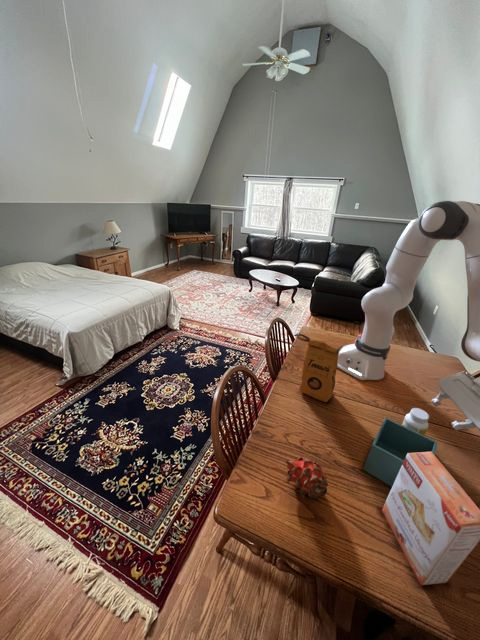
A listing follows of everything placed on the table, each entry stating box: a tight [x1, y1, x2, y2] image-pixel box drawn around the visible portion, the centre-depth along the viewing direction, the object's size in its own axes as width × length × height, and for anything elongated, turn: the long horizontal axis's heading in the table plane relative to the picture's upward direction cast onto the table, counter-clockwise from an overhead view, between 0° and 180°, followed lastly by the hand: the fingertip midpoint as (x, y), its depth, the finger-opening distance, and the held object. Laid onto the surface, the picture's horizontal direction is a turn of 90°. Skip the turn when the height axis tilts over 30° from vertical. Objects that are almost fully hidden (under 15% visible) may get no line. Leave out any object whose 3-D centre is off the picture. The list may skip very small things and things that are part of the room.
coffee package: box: [298, 338, 339, 403], centre depth 98 cm, size 10×12×22 cm
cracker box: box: [381, 452, 480, 586], centre depth 54 cm, size 14×6×21 cm, turn 5°
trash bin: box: [362, 417, 439, 488], centre depth 73 cm, size 13×13×10 cm
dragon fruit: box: [285, 456, 329, 501], centre depth 68 cm, size 8×8×12 cm
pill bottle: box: [401, 407, 430, 436], centre depth 82 cm, size 6×6×11 cm
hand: (442, 414), depth 80 cm, fingers open, 8 cm apart
